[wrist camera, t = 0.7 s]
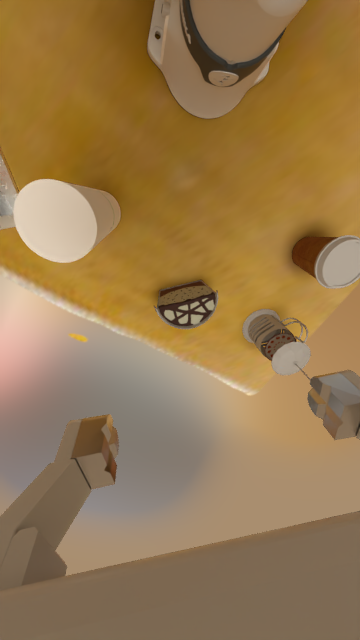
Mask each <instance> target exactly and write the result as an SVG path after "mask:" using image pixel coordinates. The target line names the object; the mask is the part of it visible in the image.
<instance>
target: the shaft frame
mask: <svg viewBox="0 0 360 640" xmlns="http://www.w3.org/2000/svg"><path fill="white" fill-rule="evenodd" d="M18 194H19V190H18V188H17V185H16V183H15V181H14V178H13V176H12V173H11V171H10V169H9V166H8V164H7V162H6V159H5V157H4V154H3V152H2V150H1V147H0V229H6V228H11V227H16V225H15V222H14V214H13V210H14V203H15V200H16V197H17V195H18Z"/></svg>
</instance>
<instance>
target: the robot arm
mask: <svg viewBox="0 0 360 640" xmlns="http://www.w3.org/2000/svg"><path fill="white" fill-rule="evenodd" d="M307 1H308V0H155V3H154V9H153V14H152V20H151V26H150V31H149V37H148V43H147V51H148V54H149V56H150V58H151V59H152V61H153V62H154V63H155V64H156V65H157V66H158V68H159V69H160V70H161V71H162V73H163V74H164V76H165V79H166V81H167V84H168V86H169V89H170V91H171V93H172V94H173V96H174V98H175V99H176V100H177V102H178V103H179V104H180V105H181V106H182V107H183V108H184V109H185V110H186V111H188V112H189V113H191V114H192V115H194V116H197V117H200V118H206V119H211V118H217V117H220V116H223V115H225V114H226V113H228V112H230V111H231V110H232V109H233V108H234V107H235V106H236V105H237V104H238V103H239V102H240V101H241V99H242V98H243V96H244V95H245V94H246V92H247V91H248V90H249V89H250V88H251V87H253V86H254V85H256V84H258V83H259V82H260V81H262V80H263V79H264V77H265V76H266V74H267V73H268V70H269V61H270V60H271V58H272V57H273V55H274V54H275V52H276V50H277V48H278V45H279V40H280V39H281V37H282V35H283V33H284V31H285V29H286V27H287V25H288V24H289V23H290V22H291V20H292V19H293V18H294V17H295V16H296V14H297V13H298V12H299V11H300V9H301V8H302V7H303V6H304V4H305V3H306V2H307ZM156 34H159V35H160V39H158V40H157V39H156V38H155V35H156ZM310 385H311V386H312V387H313V388H312V389H311V390H310V391H309V392H308V403H309V406H310V408H311V410H312V411H313V413H314V414H315V415H316V416H318V417H319V418H321V419H323V425H324V427H325V428H326V429H327V431H328V432H329V433H330V435H331V436H332V437H333V438H334V440H337V439H343V438H349V437H355V436H357V438H358V439H360V377H359V376H358V375H357V374H356V373H355V372H353V371H351V370H346V371H341V372H336V373H330V374H325V375H320V376H314V377H313V378H312V379H311V381H310ZM112 425H113V419H112V417H111V415H110V414H108V415H102V416H96V417H89V418H84V419H78V420H72V421H70V422H69V423H68V424H67V427H66V429H65V432H64V435H63V438H62V441H61V444H60V446H59V449H58V452H57V455H56V458H55V461H54V463H50V464H49V465H48V466H47V467H46V468H45V469H44V470H43V471H42V472H41V474H39V476H38V477H37V478H36V479H35V480H34V481H33V482H32V483H31V484H30V485H29V486H28V487H27V488H26V490H25V491H24V492H23V493H22V494H21V495H20V496H19V497H18V498H17V499H16V500H15V501H14V502H13V503H12V504H11V505H10V507H9V508H8V509H7V510H6V511H5V512H4V513H3V514H2V515H1V516H0V640H360V511H357V512H353V513H348V514H343V515H339V516H334V517H330V518H325V519H321V520H317V521H312V522H307V523H303V524H298V525H294V526H290V527H285V528H280V529H276V530H271V531H266V532H262V533H257V534H253V535H249V536H244V537H240V538H235V539H230V540H226V541H222V542H217V543H212V544H208V545H203V546H199V547H194V548H190V549H186V550H181V551H176V552H172V553H167V554H163V555H158V556H154V557H149V558H145V559H140V560H135V561H131V562H127V563H122V564H118V565H113V566H108V567H104V568H99V569H95V570H90V571H86V572H81V573H77V574H72V575H68V576H65V574H66V569H67V565H66V564H65V562H64V561H63V560H62V558H61V557H60V556H59V555H58V554H57V552H56V551H55V550H56V548H57V547H58V545H59V543H60V542H61V540H62V538H63V537H64V535H65V534H66V532H67V530H68V529H69V527H70V525H71V524H72V522H73V520H74V519H75V517H76V516H77V514H78V512H79V511H80V509H81V507H82V506H83V504H84V502H85V500H86V499H87V497H88V496H89V494H90V492H91V489H96V488H100V487H104V486H109V485H113V484H115V479H116V469H117V465H116V462H115V458H116V456H117V455H118V450H119V440H118V434H117V430H116V428H114V427H113V426H112Z"/></svg>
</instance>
